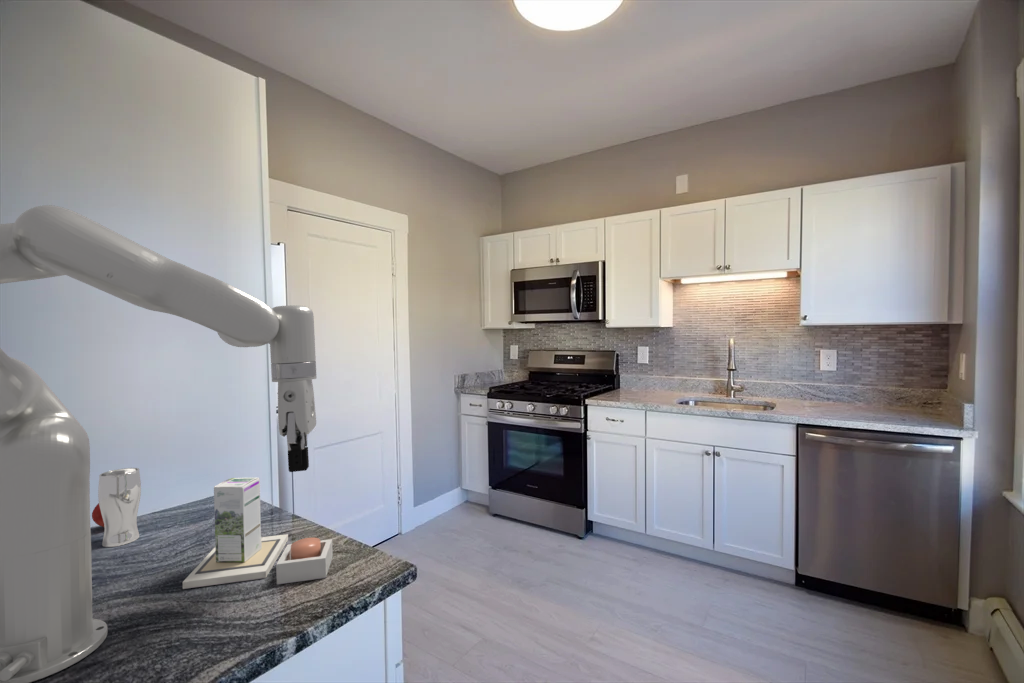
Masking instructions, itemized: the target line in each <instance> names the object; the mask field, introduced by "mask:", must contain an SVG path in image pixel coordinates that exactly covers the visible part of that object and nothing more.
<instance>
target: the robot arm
mask: <svg viewBox="0 0 1024 683" xmlns="http://www.w3.org/2000/svg"><path fill="white" fill-rule="evenodd" d="M60 276H67V277H69V278H72V279H74V280H76V281H79V282H81V283H84V284H86V285H88V286H91V287H92V288H95V289H98V290H100V291H102V292H104V293H107V294H109V295H111V296H114V297H115V298H118V299H120V300H122V301H125V302H127V303H130V304H132V305H134V306H137V307H139V308H142V309H145V310H148V311H153V312H158V313H164V314H167V315H168V314H169V315H171V316H172V315H173V316H176V317H179V318H182V319H185V320H188V321H191V322H193V323H195V324H198V325H201V326H203V327H205V328H207V329H209V330H211V331H214V332H217V334H218V337H219V338H220V339H221V340H222V341H223V342H225V343H226V344H227V345H230V346H232V347H235V348H252V347H253V348H255V347H256V348H257V347H262V346H265V345H267V344H269V347H270V349H269V350H270V354H269V355H270V369H271V371H270V373H271V375H270V376H271V382H272V383H277V418H278V419H277V420H278V432H279V435H280V436H282V437H286V444H287V445H286V446H287V463H288V465H287V467H288V472H289V473H294V472H303V471H307V470H308V469H309V467H310V463H309V461H310V460H309V459H310V458H309V446H308V435H309V434H310V433H312V431H313V430H314V429H315V427H316V426H317V415H316V406H315V405H316V404H315V403H316V402H315V401H316V400H315V392H314V391H315V390H314V386H313V380H316V379H317V362H316V361H317V360H316V357H317V356H316V342H315V341H316V338H315V320H314V319H315V316H314V312H313V309H311V307H309V306H306V305H279V306H278V305H277V306H274V307H271V306H270V305H268V304H267V303H266V302H264V301H262V300H260V299H258V298H256V297H254V295H253V296H252V295H250V294H249V293H246V292H245V291H243V290H241V289H238V288H236V287H235V286H233V285H231V284H229V283H227V282H225V281H222V280H221V279H217V278H216V277H213V276H211V275H208V274H206V273H204V272H202V271H198V270H195V269H193V268H191V267H189V266H187V265H185V264H182V263H180V262H177V261H175V260H172V259H169V258H167V257H166V256H164V255H162V254H160V253H158V252H156V251H153V250H151V249H150V248H147V247H146V246H143V245H142V244H140V243H137V242H135V241H134V240H132V239H130V238H127V236H124V235H122V234H121V233H118V232H116V231H114V230H112V229H110V228H108V227H106V226H104V225H102V224H100V223H98V222H96V221H94V220H92V219H91V218H89V217H87V216H84V215H82V214H80V213H78V212H75V211H73V210H72V209H68V208H65V207H62V206H57V205H51V204H49V205H48V204H46V205H44V204H43V205H38V206H34V207H31V208H29V209H27V210H24V211H23V212H22V213H21V214H20V215H19V216H18V217H17V218H16V220H15V221H14V222H9V223H8V222H7V223H0V285H1V284H2V285H3V284H8V283H18V282H27V281H35V280H36V281H37V280H42V279H49V278H55V277H60ZM90 452H91V447H90V439H89V436H88V433H87V431H86V429H85V428H84V427H83V425H81V423H80V422H79V421H78V420H77V418H76V417H75V416H74V415H73V414H72V413H71V411H70V410H69V409H68V408H67V406H65V405H64V403H63V402H62V401H61V400H60V398H58V396H57V395H56V394H55V392H53V390H52V389H51V388H50V387H49V385H48V384H47V383H46V382H45V381H44V379H42V378H41V376H40V375H39V374H38V373H37V372H36V371H35V370H34V369H33V368H32V367H30V365H28V364H27V363H25V362H24V361H22V360H19V359H17V358H14V357H11V356H9V355H8V354H7V353H6V352H5V351H4V350H3V349H2V348H1V347H0V683H32V682H36V681H39V680H41V679H44V678H46V677H49V676H52V675H55V674H57V673H59V672H61V671H63V670H65V669H67V668H68V667H71V666H73V665H74V664H76V663H78V662H80V661H81V660H83V659H84V658H86V657H88V656H89V655H90V654H92V653H93V652H94V651H96V650H97V649H98V648H99V647H100V646H101V645H102V644H103V643H104V641H105V640H106V639H107V636H108V634H109V633H108V632H109V631H108V624H107V623H106V622H105V621H103V620H102V619H97V618H94V617H93V582H92V581H93V580H92V579H93V577H92V576H93V575H92V574H93V573H92V572H93V571H92V570H93V569H92V567H93V566H92V530H91V500H90V499H91V498H90V496H91V495H90V494H91V492H90V487H91V486H90V485H91V484H90V478H91V477H90V476H91V474H90V473H91V453H90Z"/></svg>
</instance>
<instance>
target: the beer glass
mask: <svg viewBox="0 0 1024 683" xmlns="http://www.w3.org/2000/svg"><path fill="white" fill-rule="evenodd" d="M98 476H99V477H98V490H97V491H98V492H97V495H98V496H97V497H98V503H99V506H100V510H101V514H102V518H103V522H104V527H103V528H104V533H103V538H102V543H101V545H102V547H104V548H114V547H119V546H124V545H127V544H131V543H133V542H135V541H137V540H138V539H139V538H140V532H139V528H138V525H137V524H138V522H137V521H138V513H139V506H140V503H141V495H142V485H141V483H142V482H141V481H142V480H141V474H140V468H138V467H124V468H118V469H117V468H116V469H113V470H109V471H105V472H101V473H100V474H99V475H98Z"/></svg>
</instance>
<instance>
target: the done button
mask: <svg viewBox="0 0 1024 683" xmlns="http://www.w3.org/2000/svg"><path fill="white" fill-rule="evenodd" d="M320 540H321V539H320V538H319V537H305V538H301V539H298V540H296V541H294V542H292V543H291V544H292V545H291V560H295V559H303V558H311V557H319V556H320V555H321V542H320Z"/></svg>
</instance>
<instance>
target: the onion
mask: <svg viewBox="0 0 1024 683" xmlns="http://www.w3.org/2000/svg"><path fill="white" fill-rule="evenodd" d="M91 519H92V521H93V522H94V523H95V524H96V525H98V526H99V527H103V528H104V522H103V518H102V514H101V510H100V506H99V502H98V503H97V504H96V505H95V507H94V508H93V510H92V513H91Z"/></svg>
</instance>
